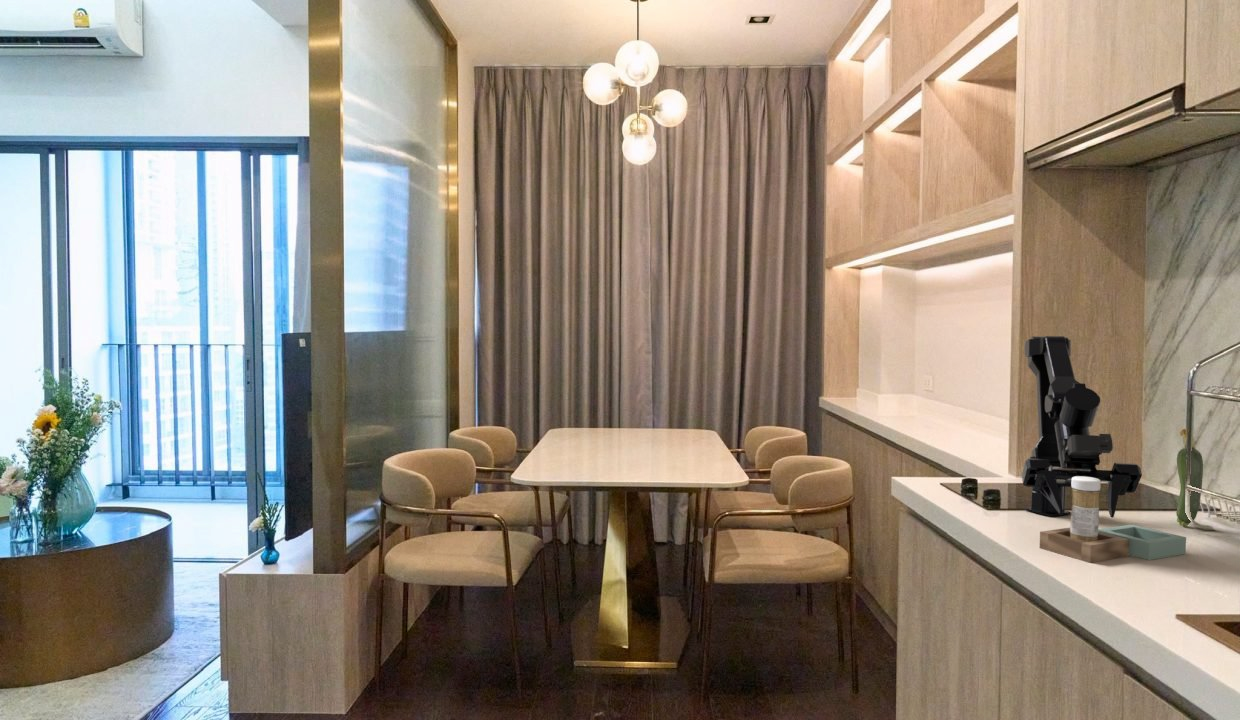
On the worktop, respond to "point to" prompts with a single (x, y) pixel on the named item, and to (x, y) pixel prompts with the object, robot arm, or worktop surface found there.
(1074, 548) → the walnut socket
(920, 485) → the worktop surface
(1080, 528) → the sprinkles bottle
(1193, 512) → the vegetable
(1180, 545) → the green square socket
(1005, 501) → the worktop surface
